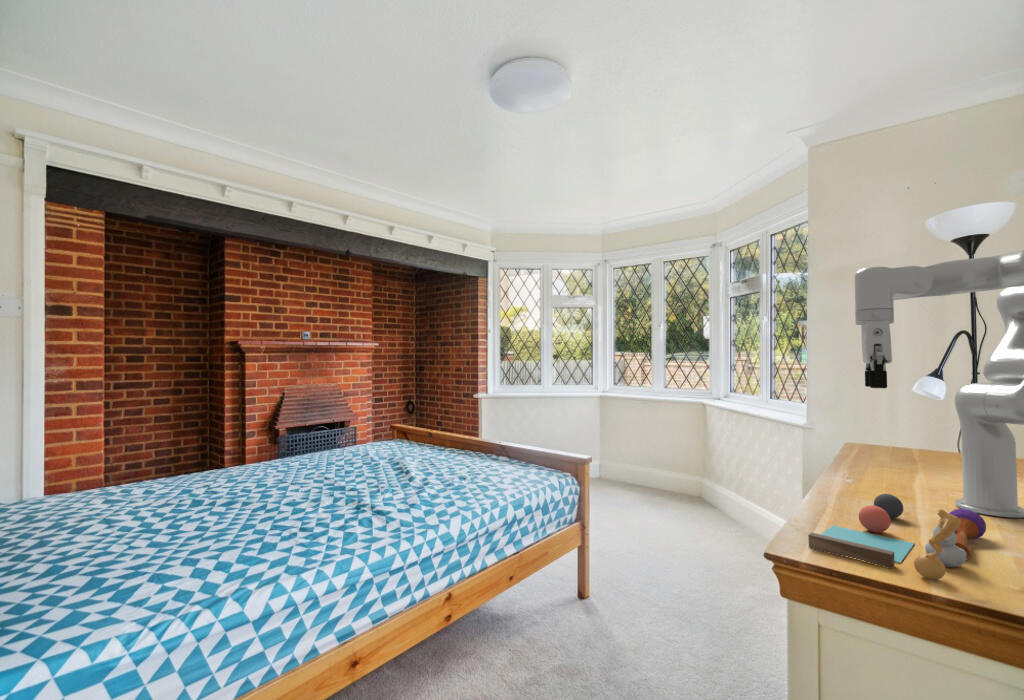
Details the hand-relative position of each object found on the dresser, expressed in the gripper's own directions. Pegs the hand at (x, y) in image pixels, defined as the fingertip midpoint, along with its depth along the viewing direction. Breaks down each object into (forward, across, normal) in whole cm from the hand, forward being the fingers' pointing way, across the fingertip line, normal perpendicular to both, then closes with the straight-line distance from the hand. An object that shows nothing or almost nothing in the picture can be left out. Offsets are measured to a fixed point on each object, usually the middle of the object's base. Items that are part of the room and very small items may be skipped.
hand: (875, 387), depth 115 cm
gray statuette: (+31, -30, -6) cm, 44 cm away
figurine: (+31, -40, -4) cm, 50 cm away
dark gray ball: (+28, -3, -2) cm, 28 cm away
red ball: (+28, -16, +2) cm, 32 cm away
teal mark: (+31, -26, +5) cm, 40 cm away
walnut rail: (+31, -35, +8) cm, 47 cm away
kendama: (+31, -16, -12) cm, 37 cm away
